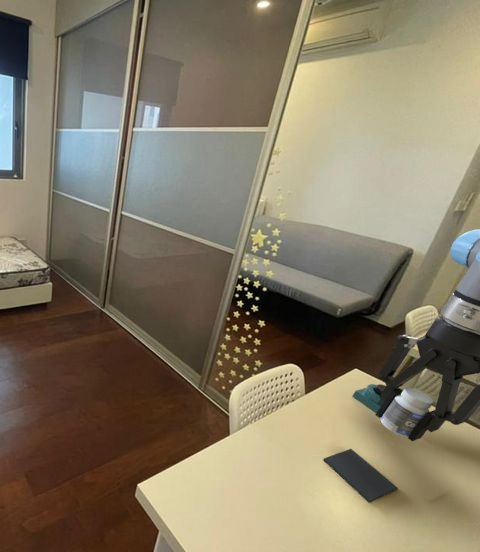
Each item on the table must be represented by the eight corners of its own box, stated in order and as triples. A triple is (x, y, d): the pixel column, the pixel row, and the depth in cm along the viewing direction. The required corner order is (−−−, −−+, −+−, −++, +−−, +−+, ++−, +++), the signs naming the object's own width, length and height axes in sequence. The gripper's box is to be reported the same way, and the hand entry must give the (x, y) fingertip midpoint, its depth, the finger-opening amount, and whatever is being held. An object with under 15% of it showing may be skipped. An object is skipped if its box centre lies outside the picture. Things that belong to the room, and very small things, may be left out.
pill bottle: (400, 439, 59) (425, 406, 56) (374, 419, 64) (395, 387, 60) (417, 436, 61) (443, 403, 57) (390, 416, 65) (412, 384, 61)
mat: (397, 489, 64) (398, 487, 64) (369, 502, 61) (370, 501, 61) (350, 449, 72) (351, 448, 71) (323, 459, 68) (324, 458, 68)
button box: (403, 413, 84) (411, 402, 82) (384, 419, 81) (392, 408, 80) (369, 391, 91) (376, 380, 89) (351, 396, 88) (358, 385, 86)
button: (396, 399, 84) (400, 393, 83) (387, 401, 82) (391, 396, 81) (379, 388, 87) (382, 383, 86) (370, 390, 86) (373, 385, 85)
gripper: (393, 301, 59) (338, 395, 68) (543, 364, 44) (445, 474, 53) (416, 298, 61) (360, 389, 71) (566, 357, 46) (469, 463, 56)
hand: (397, 426), depth 62 cm, fingers closed on pill bottle, 5 cm apart
